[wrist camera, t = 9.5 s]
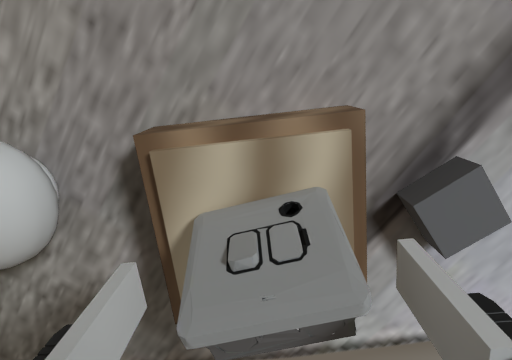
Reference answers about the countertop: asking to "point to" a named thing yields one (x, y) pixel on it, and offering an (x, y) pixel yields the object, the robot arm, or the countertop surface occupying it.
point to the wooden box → (250, 173)
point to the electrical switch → (270, 277)
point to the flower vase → (25, 206)
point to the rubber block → (454, 206)
